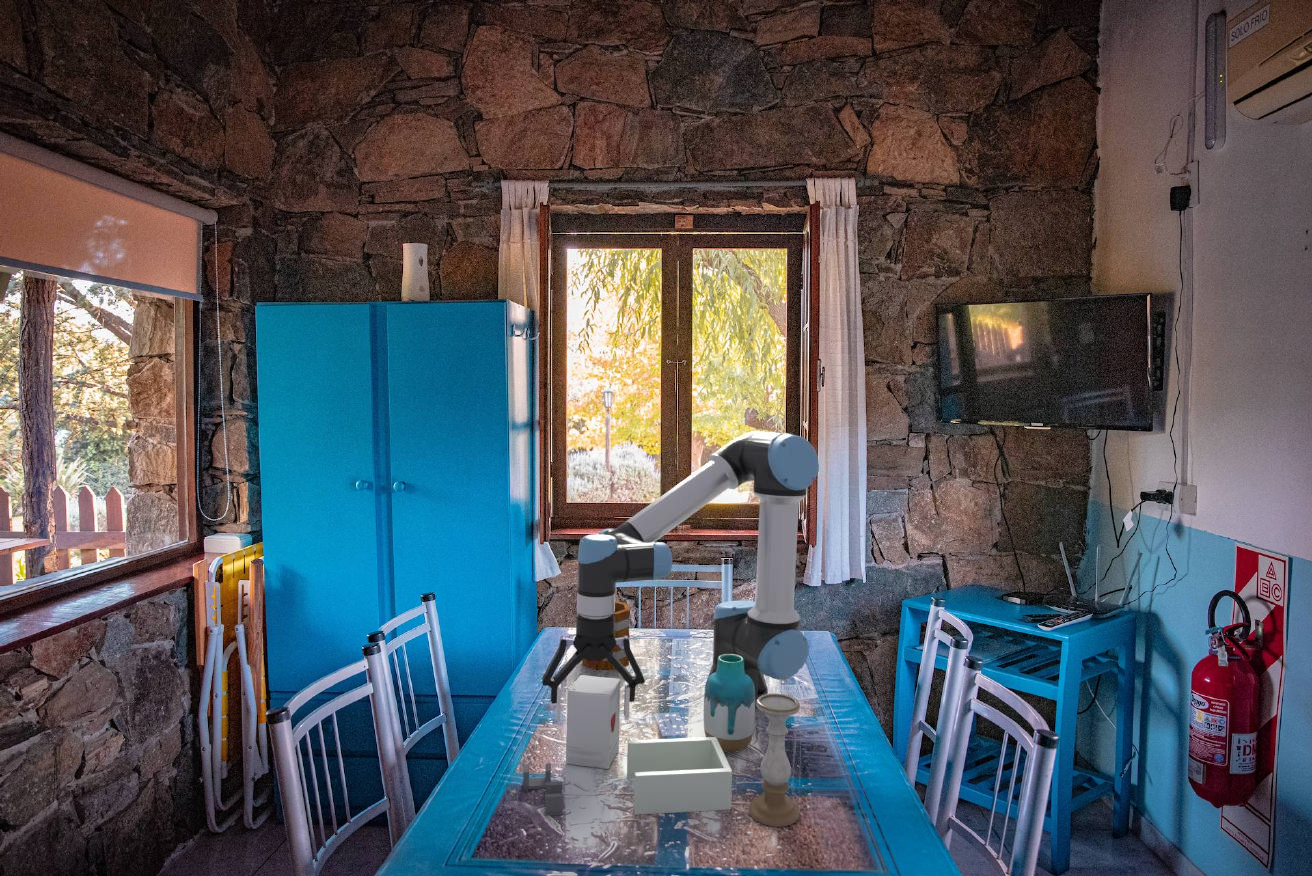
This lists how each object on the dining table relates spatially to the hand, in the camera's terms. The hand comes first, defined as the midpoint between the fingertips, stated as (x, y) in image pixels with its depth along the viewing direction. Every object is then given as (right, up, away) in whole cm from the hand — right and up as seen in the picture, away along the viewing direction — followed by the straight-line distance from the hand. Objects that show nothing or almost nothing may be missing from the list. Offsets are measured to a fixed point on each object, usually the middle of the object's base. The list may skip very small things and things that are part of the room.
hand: (592, 718), depth 155 cm
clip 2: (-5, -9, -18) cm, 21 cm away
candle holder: (+34, -10, -19) cm, 40 cm away
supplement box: (0, -8, +1) cm, 8 cm away
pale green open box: (+17, -9, -12) cm, 23 cm away
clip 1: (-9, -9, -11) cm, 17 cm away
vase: (+28, -9, +6) cm, 29 cm away
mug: (-2, -5, +51) cm, 51 cm away
